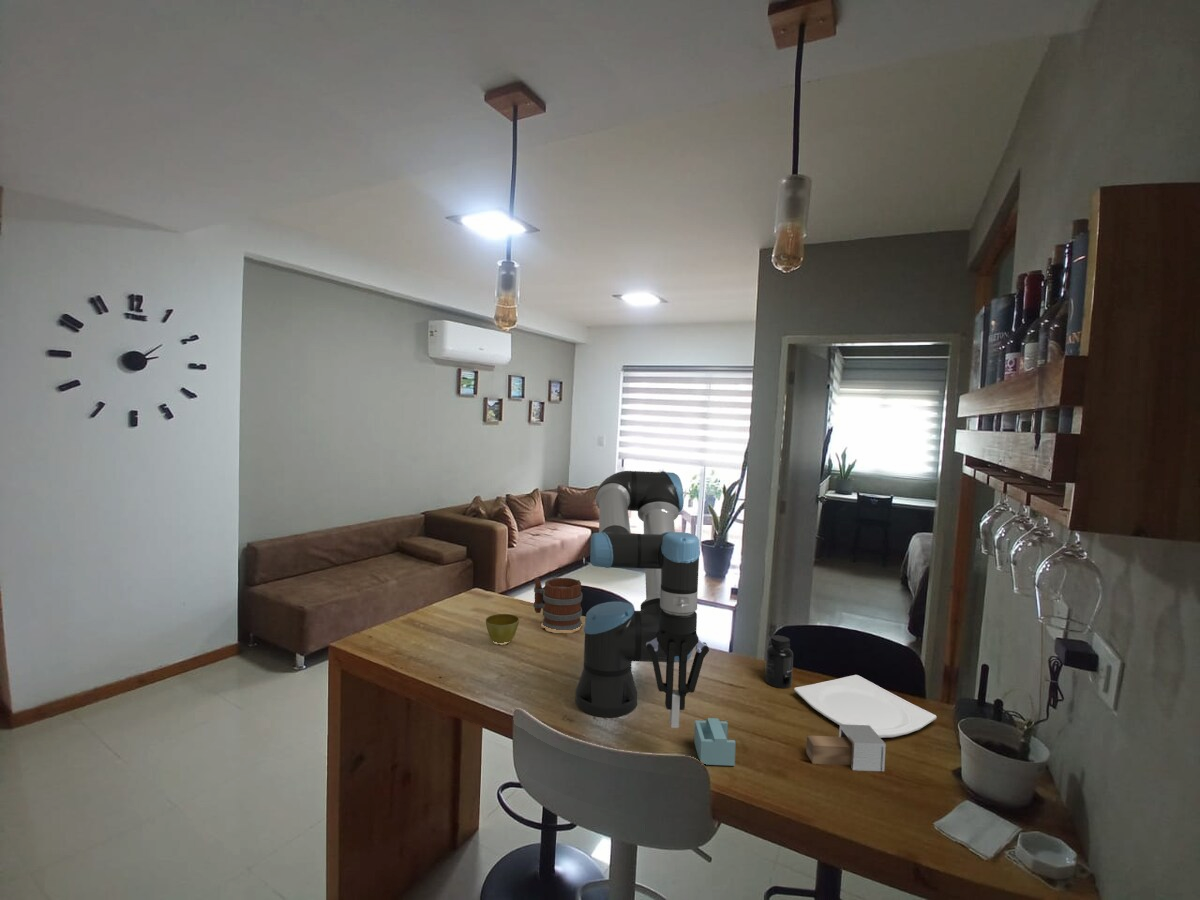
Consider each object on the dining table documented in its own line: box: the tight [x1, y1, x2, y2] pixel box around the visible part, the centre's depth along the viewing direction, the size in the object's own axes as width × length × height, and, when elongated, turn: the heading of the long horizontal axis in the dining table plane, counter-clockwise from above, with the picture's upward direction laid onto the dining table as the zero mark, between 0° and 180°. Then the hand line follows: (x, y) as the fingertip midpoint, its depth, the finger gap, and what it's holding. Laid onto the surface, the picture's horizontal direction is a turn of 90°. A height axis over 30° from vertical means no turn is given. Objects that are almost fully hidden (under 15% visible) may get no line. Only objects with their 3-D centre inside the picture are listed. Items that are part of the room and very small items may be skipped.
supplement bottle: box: [764, 635, 794, 689], centre depth 142 cm, size 7×7×12 cm
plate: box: [793, 674, 938, 739], centre depth 129 cm, size 24×24×3 cm
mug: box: [533, 577, 583, 630], centre depth 178 cm, size 14×19×15 cm
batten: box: [805, 735, 852, 766], centre depth 109 cm, size 12×4×4 cm, turn 89°
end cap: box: [838, 724, 887, 772], centre depth 109 cm, size 6×7×6 cm
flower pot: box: [485, 613, 520, 643], centre depth 163 cm, size 10×10×7 cm
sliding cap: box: [693, 717, 737, 767], centre depth 109 cm, size 7×8×5 cm
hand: (674, 724), depth 109 cm, fingers closed
